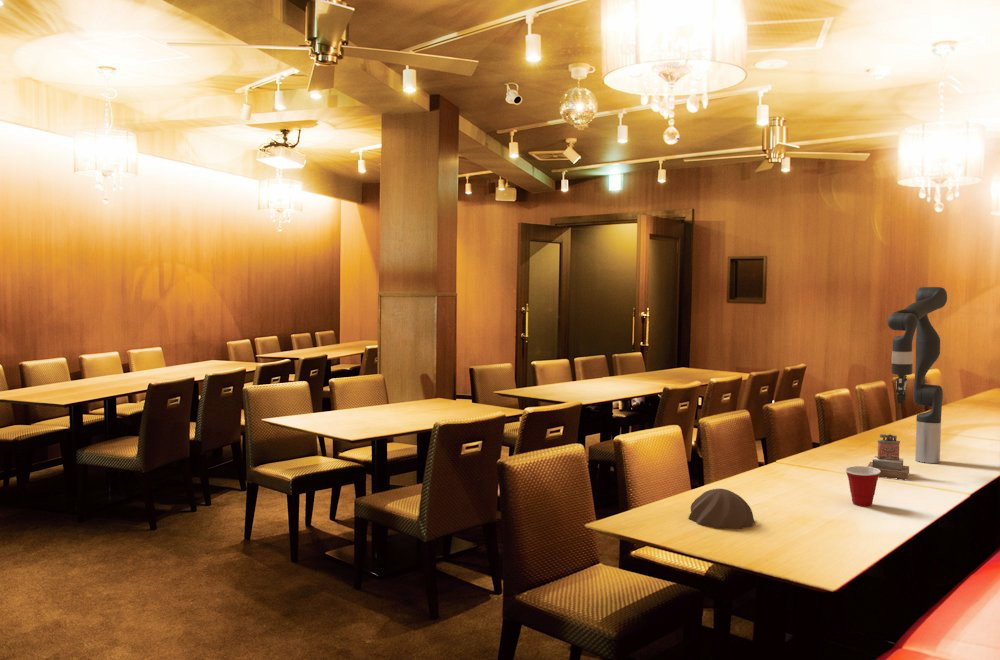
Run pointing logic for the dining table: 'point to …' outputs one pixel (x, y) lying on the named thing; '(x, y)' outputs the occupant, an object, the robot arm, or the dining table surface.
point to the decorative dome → (721, 510)
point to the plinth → (893, 472)
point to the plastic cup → (862, 484)
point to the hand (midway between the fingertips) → (901, 401)
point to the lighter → (888, 447)
